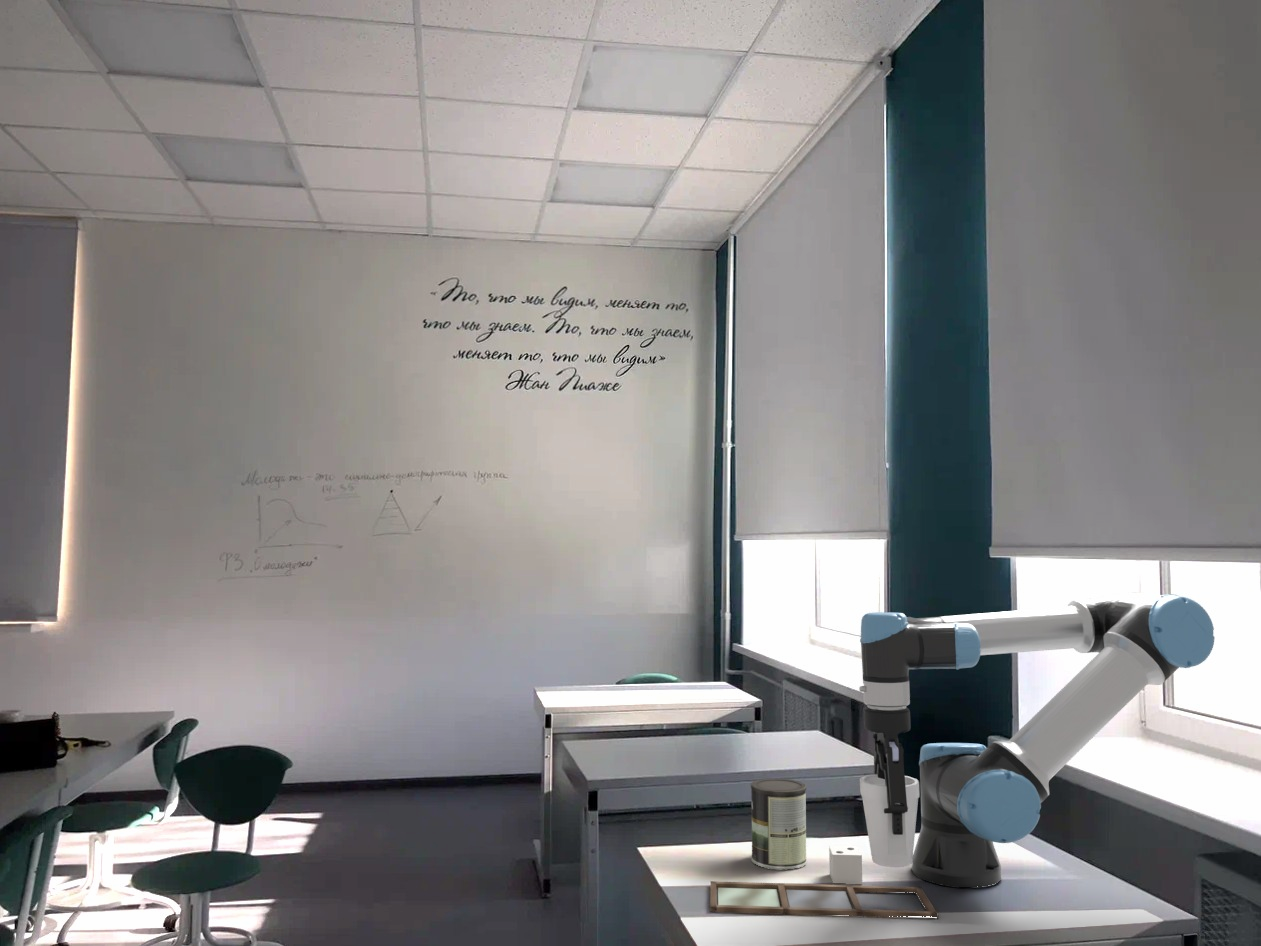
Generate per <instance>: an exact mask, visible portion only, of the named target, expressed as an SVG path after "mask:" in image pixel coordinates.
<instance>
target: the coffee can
mask: <svg viewBox="0 0 1261 946" xmlns="http://www.w3.org/2000/svg"><path fill="white" fill-rule="evenodd" d="M750 789H751V790H750V791H751V792H750V793H751V797H750V798H751V801H750V802H751V863H752V864H753V865H755V864H756V865H755V866H757V865H758V866H757V867H759V866H761V867H760V868H762V867H764V868H763V869H766V868H769V869H768V870H772V869H793V870H795V869H794V868H798V867H802V866H804V865H805V864H806V863H807V862H808V861H807V815H806V814H807V811H806V810H807V805H806V803H807V802H806V799H807V798H806V791H807V785H806V784H805V783H804V782H801V781H799V780H795V779H789V778H788V779H787V778H762V779H757V780H755V781H751V783H750ZM806 865H807V864H806ZM806 865H805V866H806ZM805 866H804V867H805ZM802 868H803V867H802Z"/></svg>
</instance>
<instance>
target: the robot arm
mask: <svg viewBox="0 0 1261 946" xmlns="http://www.w3.org/2000/svg"><path fill="white" fill-rule="evenodd" d="M860 622H861V623H860V640H859V642H860V649H861V652H860V653H861V666H862V668H861V669H862V684H863V685H861V686H859V687H858V688H859V689H858V690H859V692H860V693H863V694H862V695H863V696H862V698H863V701H862V702H863V703H864V705H866V706H865V707H864V708H863V728H864V730H866V731H868V732H870V733H873V735H872V738H873V774H877V775H878V778H881V779H885V784H886V787H887V802H888V808H885V809H884V813H887V834H888V854H889V855H906V832H905V812H907V811H908V807H907V799H906V787H905V776H906V775H905V766H904V752H905V750H904V748H903V745H902V743H899V738H898V735H899V734H904V733H907V732H909V731H911V728H912V727H911V711H910V708H909V707H907V706H909V705H910V704H911V700H910V699H911V698H910V697H911V693H910V690H911V689H910V676H909V672H910V670H920V669H921V670H934V669H936V670H939V669H943V670H945V669H947V670H949V669H950V670H951V669H954V670H955V669H956V671H957V670H960V669H967V668H969V669H970V668H973V667H975V666H976V665H977V664H978V662H979V660H980V658H981V656H987V655H989V656H990V655H1002V654H1014V653H1015V654H1016V653H1029V652H1040V651H1041V652H1042V651H1055V650H1067V649H1068V650H1069V649H1074V650H1075V651H1076V652H1077V653H1080V654H1089V653H1097V655H1095V657H1093V658H1092V659H1091V660H1090V661H1089V662H1088V663H1087V664H1086V665H1085V666H1084V667H1083V668H1082V669H1081V670H1080V671H1079V672H1078V673H1077V674H1076V675H1074V677H1073V678H1072V679H1071V680H1070V681H1069V682H1068V683H1066V684H1065V686H1063V688H1061V689H1060V691H1058V692H1057V693H1056V694H1055V695H1054V696H1053V697H1052V698H1051V699H1050V700H1049V701H1048V702H1047V703H1046V704H1045V705H1044V706H1043V707H1042V708H1041V709H1040V710H1039V711H1038V712H1037V713H1035V715H1034V716H1032V717H1031V719H1029V720H1028V721H1027V722H1026V723H1025V724H1024V725H1023V726H1022V727H1021V728H1020V729H1019V730H1018V731H1017V732H1016V733H1015V734H1014V735H1013V736H1012V737H1011V738H1009V740H1007V741H999V740H994V741H993V742H991V744H990V745H988V746H986V745H984V744H980V743H969V742H936V743H935V742H934V743H927V744H923V745H922V746H921V747H920V754H919V761H918V766H919V792H920V814H921V815H920V816H921V817H920V819H921V821H920V822H921V828H920V831H919V835H918V838H917V841H916V845H915V847H914V849H913V859H912V864H911V866H912V867H911V869H912V870H911V871H912V873H913V874H914V875H915V876H916V877H918V879H922V880H923V881H925V880H926V882H928V881H929V882H928V883H931V882H932V883H931V884H935V883H936V884H935V885H941V886H944V885H945V886H944V887H950V886H952V887H951V888H959V887H977V886H978V887H982V886H988V885H992V884H995V883H997V882H999V881H1000V880H1001V881H1002V865H1001V863H1000V860H999V857H998V854H997V850H996V848H995V844H994V843H998V844H1010V843H1014V842H1018V841H1021V840H1023V839H1024V838H1025V837H1027V836H1028V835H1030V834H1031V833H1032V832H1033V831H1034V829H1035V828H1036V826H1037V824H1038V822H1039V820H1040V817H1041V814H1040V810H1041V808H1042V803H1043V802H1044V801H1045V800H1046V799H1047V798H1048V797H1049V796H1050V787H1049V784H1050V783H1049V782H1050V780H1051V779H1052V778H1053V777H1054V776H1055V775H1056V774H1057V773H1058V772H1059V771H1060V770H1061V769H1063V768H1064V767H1065V766H1066V765H1067V764H1068V762H1069V761H1071V760H1072V758H1074V757H1075V756H1076V755H1077V754H1078V753H1079V751H1081V750H1082V749H1083V748H1084V747H1085V746H1086V745H1087V744H1088V743H1089V742H1090V741H1091V740H1092V739H1093V738H1094V737H1095V736H1096V735H1097V734H1098V733H1099V732H1100V731H1101V730H1103V728H1104V727H1105V726H1106V725H1107V724H1109V722H1110V721H1112V719H1114V718H1115V716H1117V714H1119V713H1120V712H1121V711H1122V710H1123V709H1124V708H1125V706H1127V705H1128V704H1129V703H1130V702H1131V700H1133V699H1134V698H1135V697H1136V696H1137V695H1138V694H1139V693H1140V692H1141V691H1142V690H1143V689H1144V688H1145V687H1146V686H1148V685H1154V686H1161V685H1162V684H1164V683H1165V682H1166V681H1167V680H1169V678H1170V677H1172V675H1173V674H1174V673H1175V672H1176V671H1177V670H1178V669H1179V668H1183V669H1189V668H1193V667H1196V666H1199V665H1200V664H1203V662H1205V661H1206V660H1207V659H1208V657H1209V656H1210V654H1211V652H1212V650H1213V648H1214V645H1215V636H1214V630H1215V628H1214V624H1213V622H1212V619H1211V617H1210V615H1209V613H1208V612H1207V611H1206V609H1205V608H1204V607H1203V606H1202V605H1201V604H1200V603H1198V602H1196V601H1195V600H1193V599H1192V598H1188V597H1185V596H1180V595H1177V594H1173V593H1168V594H1152V593H1139V592H1126V593H1119V594H1118V593H1117V594H1113V595H1108V596H1107V595H1106V596H1101V597H1096V598H1089V599H1088V598H1087V599H1079V600H1071V601H1070V602H1069V603H1068V604H1067V605H1066V606H1059V607H1047V608H1036V609H1035V608H1034V609H1032V608H1031V609H1021V610H1008V611H1006V610H1005V611H996V612H983V613H970V614H957V615H944V616H942V615H941V616H931V617H918V618H916V617H914V616H912V617H911V616H908V617H907V615H905V613H903V612H888V611H887V612H882V611H880V612H879V611H878V612H868V613H865V614H864V615H863V616H862V618H861V621H860ZM895 803H900V804H895ZM1001 881H1000V882H1001ZM1000 882H999V883H1000Z"/></svg>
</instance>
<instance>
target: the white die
mask: <svg viewBox="0 0 1261 946" xmlns="http://www.w3.org/2000/svg"><path fill="white" fill-rule="evenodd" d="M828 847H829V848H828V851H829V852H828V853H829V877H830V876H831V877H830V879H831V882H832V881H833V882H832V884H833V883H846V884H845V885H861V884H862V885H863V855H862V853H861V851H860V848H859V847H858V846H838V845H837V846H836V845H835V846H833V845H829V846H828Z"/></svg>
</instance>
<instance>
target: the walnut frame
mask: <svg viewBox="0 0 1261 946" xmlns="http://www.w3.org/2000/svg"><path fill="white" fill-rule="evenodd" d="M709 881H710V880H709ZM709 886H710V888H709V889H710V894H709V895H710V897H709V899H710V901H709V902H710V903H709V904H710V909H709V910H710V913H724V914H725V913H727V914H728V913H733V914H761V915H764V914H765V915H767V914H769V915H789V916H790V915H793V916H821V915H849V916H848V917H853V916H863V917H862V918H885V917H889V916H890V917H892V916H893V917H897V916H898V917H900V916H901V917H903V916H906V917H908V916H922V917H923V916H924V917H926V916H930V917H931V916H932V917H939V915H938V912H937V910H936V909H935V908H934V906H933V904H932V903H931V901H930V900H929V898H928V896H927V895H926V893H925V892H924V890H923V889H922V887H920V886H890V885H889V886H888V885H887V886H886V885H884V886H883V885H860V884H822V883H821V884H818V883H788V882H787V883H785V882H784V883H783V882H779V883H777V882H750V881H749V882H748V881H747V882H746V881H717V880H716V881H715V880H714V881H710V885H709ZM846 891H847V892H846ZM865 892H869V893H870V894H873V893H874V894H884V893H883V892H905V893H907V892H908V893H909V892H913V893H914V892H915V893H917V895H918V896H919V898H920V900H921V901H920V900H919V901H920V903H921V902H922V903H923V905H924V906H925V908H926V910H927V911H926V910H902V909H901V910H898V909H897V910H895V909H893V910H892V909H867V908H866V909H865V908H864V909H863V908H862V906H861V903H860V901H859V898H858V897H857V894H856V893H865ZM876 892H877V893H876ZM847 893H848V894H847ZM869 893H868V894H869ZM917 895H916V896H917ZM849 898H850V899H849ZM919 898H918V899H919ZM851 903H852V904H851ZM922 903H921V904H922ZM923 905H922V906H923ZM924 906H923V907H924ZM853 908H854V909H853ZM925 908H924V909H925ZM864 916H866V917H864Z"/></svg>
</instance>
